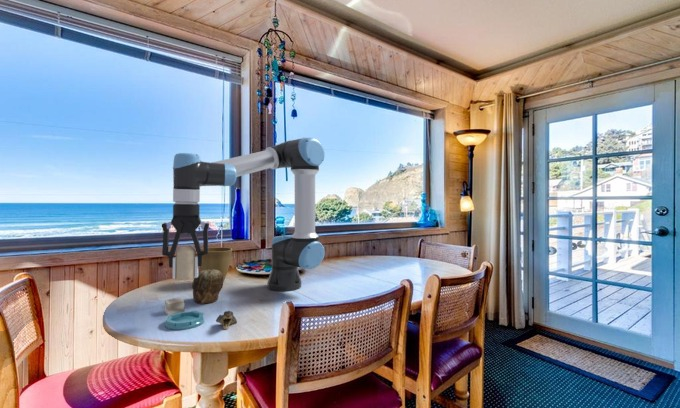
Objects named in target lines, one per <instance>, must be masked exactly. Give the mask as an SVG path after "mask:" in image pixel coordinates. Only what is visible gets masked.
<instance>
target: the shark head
mask: <svg viewBox="0 0 680 408" xmlns="http://www.w3.org/2000/svg"><path fill="white" fill-rule="evenodd" d="M237 321H238V320H237V319H236V317H235V316H234V312H233V311H231V310H226V311H224V312H223V314H219V315H218V317H217V318H216V320H215V322H216V323H219V324H221V325H222V329H223V330H229V328H230V325H235V324H237V323H238V322H237Z"/></svg>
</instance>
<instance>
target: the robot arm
mask: <svg viewBox="0 0 680 408" xmlns="http://www.w3.org/2000/svg"><path fill="white" fill-rule="evenodd" d="M325 154H326V153H325V149H324V147H323V145H322V144H321V142H320V141H319V140H318V139H316V138H315V137H302V138H297V139H291V140H290V139H289V140H287V141H284V142H281V143H279V144H276V145H272V146H268V147H266V148H265V149H264V150H262V151H257V152H253V153H248V154H243V155H239V156H234V157H230V158H227V159H222V160H217V161H212V162H207V161H206V162H205V161H202V160H201V156H200V155H199V154H197V153H196V154H195V153H192V152H191V153H189V152H179V153H175V155H174V157H173V164H172V165H173V166H172V175H173V177H172V178H173V187H172V202H173V203H174V204H172V219H171V221H167V222H163V223H161V228H162V230H163V231H162V232H163V234H162V235H163V237H162V253H161V254H162V256H163V257H164V256H166V257H167V258H168V267H169V268H172V279H173V280H175V279H176V251H177V248H178V245H179V242H180V238H181V236H182V234H185V233H186V234H190V235H191V238H192V242H193V245H194V250H195V251H196V254H197V255H196V256H195V278H197V277H198V272H199V267H200V266H201V265H202V256H203V255H205V254H207V253H208V248H209V232H208V231H209V227H210V223H209V222H205V221H202V220H201V217H200V211H201V210H200V204H199V203H200V201H201V200H200V198H201V196H200V194H201V193H200V192H201V187H217V186H218V187H231V186H234V185H235V184H236V181H237V178H238V177H241V176H245V175H250V174H253V173H256V172H261V171H264V170H269V169H271V170H277V169H283V168H284V169H285V168H290V171H291V173H292V174H293V175H294V233H292V234H289V235H279V236H278V235H277V236H276V235H275V236H274V237H272V239H271V244H270V245H271V270H270V273H269V276H268V280H267V281H266V282H267V285H266V286H267V287H266V288H267V289H268V290H272V291H278V292H286V291H287V292H289V291H294V290H299V289H300V288H302V279H301V276H300V272H299V268H301V269H302V270H313V269H316V268H317V267H319V266H320V265H321V263H322V262H323V260H324V257H325V247H324V245H323V244H322V243H321V242H320V241H319V240H320V236H319V235H318V234H317V232H316V175H317V174H318V172H319V171H320V168H319V167H320V165H321V164H323V162H324V161H325ZM199 226H201V229H202V240H203V241H202V242H203V245H202V246H203V247H202V248H204V250H203V251H202V250H201V249H202V248H201V245H200V241H199V238H198V235H197V228H199ZM172 227H174V229H175V230H176V231H175V236H174V239H173V241H172V245H171V248H170V251H169V245H170V244H169V242H170V229H171V228H172ZM176 280H177V279H176Z"/></svg>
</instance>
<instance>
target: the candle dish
mask: <svg viewBox="0 0 680 408" xmlns="http://www.w3.org/2000/svg"><path fill="white" fill-rule="evenodd" d="M204 322H205V314H204V312H201V311H197V310H184V312H178V313H175V314H172V315H167V317H166V319H165V322H164V323H165V325H164V326H165V328H166V329H169V330H173V331H182V330H183V331H184V330H190V329H193V328H194V329H195V328H197V327H199V326H201V325H203V324H204Z"/></svg>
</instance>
